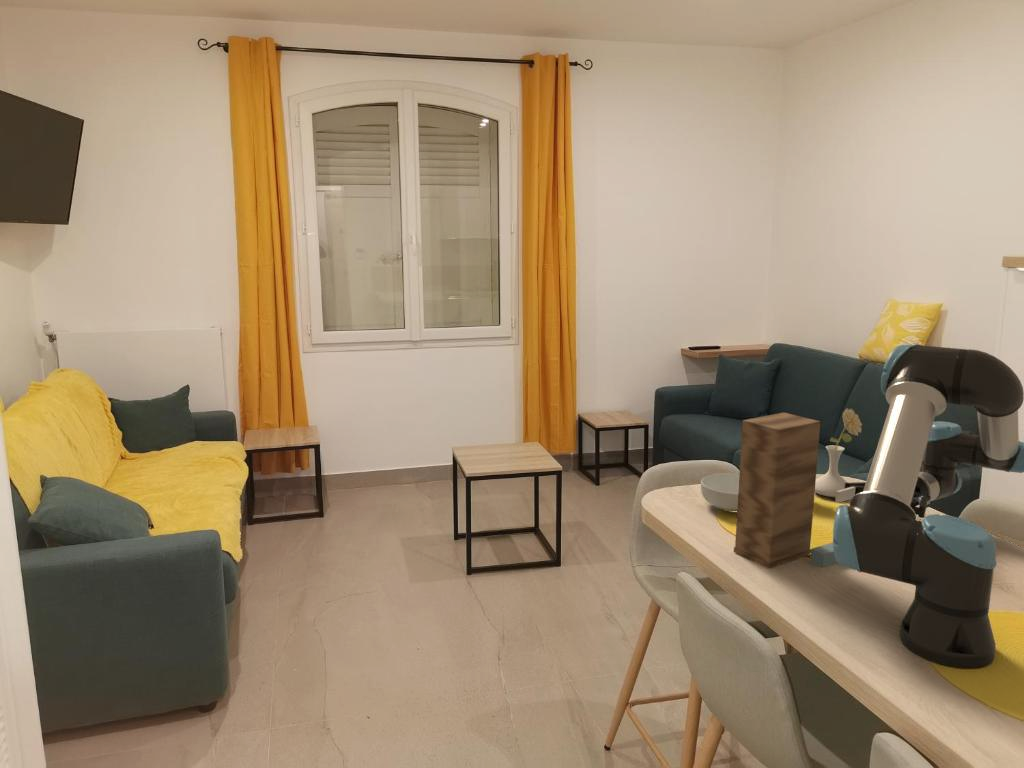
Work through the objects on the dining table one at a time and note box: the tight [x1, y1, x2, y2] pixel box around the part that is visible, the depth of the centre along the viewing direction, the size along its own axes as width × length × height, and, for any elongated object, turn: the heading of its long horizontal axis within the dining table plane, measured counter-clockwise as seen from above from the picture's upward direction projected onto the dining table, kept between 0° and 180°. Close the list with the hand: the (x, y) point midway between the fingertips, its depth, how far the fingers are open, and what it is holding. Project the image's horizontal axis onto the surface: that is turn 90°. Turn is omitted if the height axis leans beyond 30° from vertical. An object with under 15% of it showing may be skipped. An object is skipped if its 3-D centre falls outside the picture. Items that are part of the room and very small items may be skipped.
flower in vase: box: [815, 408, 863, 498], centre depth 217 cm, size 13×11×25 cm
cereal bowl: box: [700, 472, 740, 512], centre depth 208 cm, size 17×17×7 cm
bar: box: [809, 542, 839, 568], centre depth 179 cm, size 4×24×4 cm, turn 119°
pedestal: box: [733, 412, 821, 569], centre depth 176 cm, size 10×14×32 cm
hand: (862, 505), depth 178 cm, fingers open, 13 cm apart
